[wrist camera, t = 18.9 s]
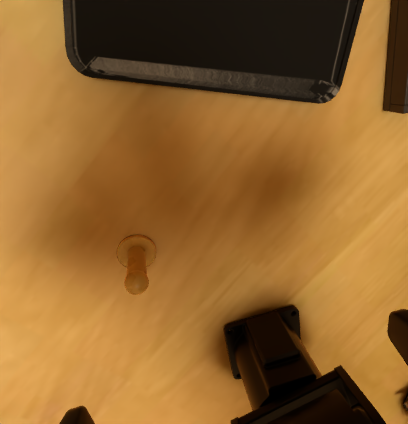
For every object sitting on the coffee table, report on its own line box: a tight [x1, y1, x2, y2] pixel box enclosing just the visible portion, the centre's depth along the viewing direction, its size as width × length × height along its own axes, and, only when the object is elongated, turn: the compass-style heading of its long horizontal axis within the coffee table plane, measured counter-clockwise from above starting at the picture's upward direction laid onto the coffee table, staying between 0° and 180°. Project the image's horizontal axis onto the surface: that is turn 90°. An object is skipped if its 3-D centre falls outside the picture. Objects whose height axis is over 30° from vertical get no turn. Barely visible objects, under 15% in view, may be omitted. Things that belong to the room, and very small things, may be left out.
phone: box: [63, 0, 364, 103], centre depth 16 cm, size 8×1×15 cm
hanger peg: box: [117, 235, 156, 295], centre depth 19 cm, size 3×3×4 cm
